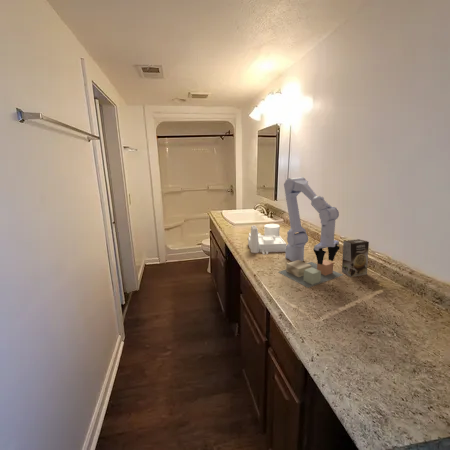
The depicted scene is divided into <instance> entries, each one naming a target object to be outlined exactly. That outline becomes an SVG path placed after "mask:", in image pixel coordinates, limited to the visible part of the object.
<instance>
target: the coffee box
mask: <svg viewBox="0 0 450 450" xmlns="http://www.w3.org/2000/svg"><path fill="white" fill-rule="evenodd" d="M342 246H343V247H342V261H341V262H342V263H341V264H342V266H341V272H342V273H343V274H345V275H347V276H348V277H350V278H354V277H360V276H366V275H367V274H368V263H369V247H370V241H368V240H363V239H358V238H357V239H350V240H343V244H342Z"/></svg>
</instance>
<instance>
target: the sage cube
mask: <svg viewBox="0 0 450 450" xmlns="http://www.w3.org/2000/svg"><path fill="white" fill-rule="evenodd" d="M320 279H321V271H319V270H317V269H315V268H308V269H305V270H304V281H306V282H308V283H310V284H312V285H313V284H316V283H318V282H320Z"/></svg>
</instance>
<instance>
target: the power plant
mask: <svg viewBox="0 0 450 450" xmlns="http://www.w3.org/2000/svg"><path fill="white" fill-rule="evenodd" d="M263 228H264V229H263V230H264V232H263V234H262V233H261V232H259V230H258V229H259V228H258V227H257V225H254V224H253V225H251V228H250V232H248V238H247V245H248V247H249V250H250V253H252V254H258V253H262V255H269V253H276V252H277V253H280V252H281V253H283V252H284V253H286V246H287V242H286V241H285V240H284V239H283V238H282V236H281V235H280V234H281V233H280V229H281V227H280V224H275V223H267V224H264V226H263Z"/></svg>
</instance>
